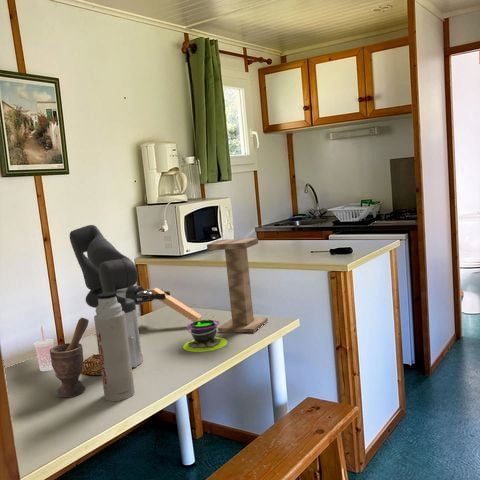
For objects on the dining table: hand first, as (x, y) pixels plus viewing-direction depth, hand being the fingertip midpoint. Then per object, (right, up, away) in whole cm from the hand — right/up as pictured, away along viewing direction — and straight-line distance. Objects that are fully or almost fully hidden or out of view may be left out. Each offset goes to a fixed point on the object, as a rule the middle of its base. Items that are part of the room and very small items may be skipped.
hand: (167, 295), depth 209 cm
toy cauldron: (+17, -14, -27) cm, 35 cm away
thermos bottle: (-4, -20, -64) cm, 68 cm away
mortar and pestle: (-18, -21, -58) cm, 64 cm away
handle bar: (+3, -5, -1) cm, 6 cm away
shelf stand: (+29, -10, -11) cm, 33 cm away
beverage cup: (-33, -20, -37) cm, 53 cm away
